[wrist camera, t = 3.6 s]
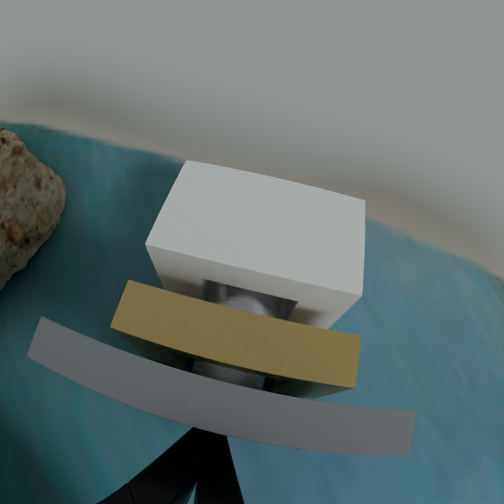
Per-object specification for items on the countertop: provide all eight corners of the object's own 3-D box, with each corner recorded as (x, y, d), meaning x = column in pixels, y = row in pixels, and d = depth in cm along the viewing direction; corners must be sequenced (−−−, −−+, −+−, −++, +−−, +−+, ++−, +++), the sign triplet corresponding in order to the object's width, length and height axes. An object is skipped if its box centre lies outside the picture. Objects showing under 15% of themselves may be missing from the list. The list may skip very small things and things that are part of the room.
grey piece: (315, 439, 13) (409, 455, 6) (125, 391, 14) (26, 356, 6) (340, 278, 18) (410, 174, 10) (178, 239, 19) (154, 117, 11)
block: (312, 342, 17) (362, 295, 10) (173, 308, 17) (145, 244, 11) (323, 272, 19) (365, 200, 13) (196, 242, 19) (186, 159, 13)
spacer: (313, 398, 15) (354, 387, 10) (146, 357, 15) (109, 327, 10) (319, 362, 16) (361, 335, 11) (157, 323, 16) (128, 279, 11)
